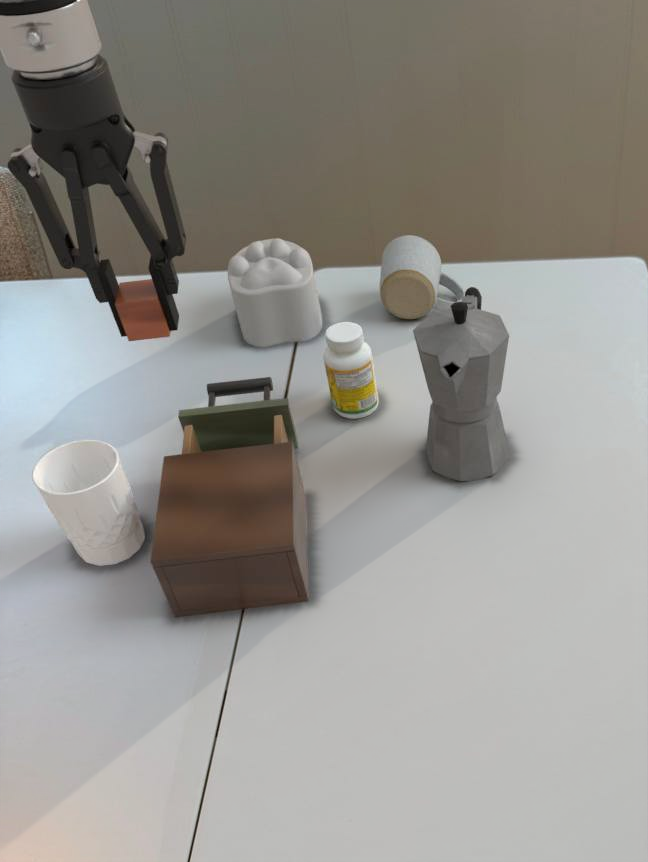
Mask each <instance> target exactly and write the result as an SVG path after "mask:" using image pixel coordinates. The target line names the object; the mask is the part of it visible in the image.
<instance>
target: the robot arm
mask: <svg viewBox="0 0 648 862" xmlns="http://www.w3.org/2000/svg"><path fill="white" fill-rule="evenodd" d="M102 48H103V44H102V41H101V39H100V36H99V32H98V29H97V26H96V23H95V20H94V17H93V14H92V11H91V8H90V4H89V2H88V0H0V53H1V55H2V58H3V60H4V63H5V65H6V66H7V67H9V68H10V69H12V70H13V71H12V76H11V83H12V85H13V87H14V90H15V93H16V95H17V97H18V100H19V102H20V104H21V108H22V110H23V113H24V115H25V118H26V120H27V122H28V125H29V127H30V130H31V136H30V137H31V138H30V143H29V144H28V145H27V146H25V147H24V148H21V147H16V148H14V149H13V151H12V153H11V155H10V157H9V160H8V162H7V169H8V170H9V172H10V173H11V174H12V176H14V178H15V179H16V180H17V181H18V182H19V183H20V184H21V186H22V187H23V188H24V189H25V191H26V194H27V196H28V198H29V200H30V203H31V205H32V207H33V209H34V211H35V213H36V215H37V217H38V219H39V222H40V224H41V226H42V228H43V230H44V233H45V235H46V237H47V239H48V242H49V244H50V246H51V248H52V250H53V252H54V254H55V257H56V260H57V262H58V263H59V265H60V266H61V267H62V269H65V270H71V269H72V268H74V269H78V270H81V271H83V272H84V273H85V275H86V277H87V279H88V282H89V285H90V287H91V289H92V291H93V294H94V297H95V299H96V301H98V303H99V304H103V303H104V304H105V303H108V305H109V308H110V310H111V311H110V312H111V313H112V316H113V318H114V321H115V325H116V326H117V329H118V331H119V334H120V337H124V338H125V337H127V335H126V333H125V330H124V327H123V325H122V322H121V319H120V317H119V314H118V311H117V309H116V306H115V301H116V298H117V293H118V288H119V282H118V279H117V277H116V274H115V272H114V269H113V265H112V264H111V261H110V259H109V258H105V259H101V260H100V254H101V251H100V250H99V246H98V240H97V234H96V228H95V221H94V216H93V210H92V203H91V202H92V201H91V196H90V191H89V188H90V187H92V186H94V185H103V186H109V187H110V189H111V190H112V193H113V194H114V195H115V196H116V198H118V199H119V201H120V203H121V204H122V206H123V208H124V210H125V212H126V213H127V215H128V217H129V219H130V221H131V223H132V224H133V226H134V228H135V229H136V231H137V233H138V235H139V237H140V238H141V240H142V242H143V244H144V245H145V247H146V249H147V251H148V252H149V254H150V257H149V264H148V268H147V269H148V272H149V274H150V277H151V278H150V279H152V280H153V283H154V286H155V289H156V292H157V295H158V298H159V301H160V304H161V307H162V310H163V313H164V315H165V318H166V321H167V324H168V327H169V330H170V331H171V332H175V331H178V329H179V323H180V314H179V311H178V307H177V304H176V300H175V298H174V295H177V294H178V293H179V285H180V280H179V276H178V274H177V271H176V267H175V264H174V261H173V258H175V257H181V256H183V255H184V254H185V253H186V252H185V251H186V244H187V235H186V230H185V227H184V224H183V220H182V219H183V218H182V216H181V212H180V209H179V204H178V201H177V197H176V193H175V189H174V185H173V182H172V178H171V174H170V170H169V166H168V162H167V161H168V160H167V159H168V149H169V138H168V136H167V135H166V134H165V133H163V132H157V133H155V134H154V135H151V134H147V133H144V132H141V131H137V130H136V129H135V126H134V125H133V123H131V121H130V120H128V118H127V117H126V115H125V113H124V110H123V109H122V108H123V107H122V105H121V103H120V102H121V101H120V99H119V95H118V93H117V89H116V86H115V83H114V79H113V77H112V74H111V70H110V68H109V64H108V61H107V60H106V58H104V57H103V56H102V55H101V54H100V52H101V50H102ZM134 148H135V149H137V150H138V151H139V153H140V157H141V159H142V161H143V162H144V163H145V164H147V165H149V172H150V178H151V182H152V185H153V186H152V187H153V189H154V193H155V196H156V200H157V205H158V207H159V211H160V215H161V219H162V223H163V226H164V230H165V233H166V237H167V238H165V235H164V234H163V231H162V230H161V228H160V226H159V225H158V223H157V221H156V219H155V217H154V216H153V213H152V211H151V210H150V208H149V206H148V204H147V202H146V201H145V199H144V197H143V195H142V193H141V192H140V189H139V188H138V186H137V184H136V182H135V180H134V176H133V173H132V171H131V170H130V168H129V165H128V163H129V160H130V158H131V155H132V152H133V149H134ZM41 160H42V161H44V163H46V164H47V165H48V166H49V167H51V168H52V169H53V170H54V171H56V172H57V173H58V174H59V175H60V176H61V177H62V178H64V181H65V186H66V187H65V188H66V193H67V198H68V199H69V201H70V202H69V203H70V208H71V212H72V218H73V223H74V230H75V235H76V241H77V247H76V244H75V242H74V240H73V238H72V235H71V234H70V231H69V229H68V226H67V224H66V222H65V220H64V217H63V215H62V212H61V210H60V208H59V206H58V203H57V201H56V199H55V197H54V194H53V192H52V190H51V187H50V185H49V183H48V180H47V178H46V177H45V175H44V173H43V169H44V168H43V167H44V165H43V163H42V161H41Z"/></svg>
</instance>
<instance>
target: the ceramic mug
mask: <svg viewBox="0 0 648 862" xmlns="http://www.w3.org/2000/svg"><path fill="white" fill-rule="evenodd" d="M439 285H440V286H443V287H444V288H447V289H448V290H449V291H451V292H452V293H453V294H454V295H455V296H456V301H448V300H446V299H443V298H441V297H440V298H439V297H438V292H439ZM465 292H466V291H465V289H464V287H463V286H462V285H461V284H460V283H459V282H458V281H456V280H455V279H454V278H453V277H451V276H449V274H445V273H443V272H442V260H441V255H440V253H439V252H438V250H437V249H436V247H435V246H434V245H433V243H431V242H430V241H428V240H427V239H424V238H423V237H421V236H417V235H410V234H407V235H401V236H398V237H396V238H394V239H392V240H391V241H390V242H389V243H388V244H387V245H386V246H385V248H384V250H383V252H382V256H381V265H380V278H379V296H380V299H381V302H382V304H383V306H384V307H385V309H386V310H387V311H388V312H389V313H390V314H392V315H393V316H395V317H397V318H400V319H403V320H416V319H420V318H422V317H424V316H426V315H427V314H428V313H430V311H431V310H432V309H436V310H438V311H442V310H448V309H451V305H452V304H453V303H455V302H461V301H462V298H463V296H465Z"/></svg>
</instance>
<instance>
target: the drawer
mask: <svg viewBox="0 0 648 862" xmlns="http://www.w3.org/2000/svg"><path fill="white" fill-rule="evenodd" d="M273 391H274V384H273V379H272V377H271V376H266V377H256V378H248V379H239V380H229V381H220V382H211V383H210V382H209V383H207V384H206V392H207V396H208V403H207V406H203V407H193V408H185V409H179V410H178V416H177V417H178V421H179V423H180V426H181V429H182V432H183V438H182V446H181V447H182V448H181V454H189V453H197V452H206V451H215V450H224V449H233V448H241V447H250V446H259V445H268V444H276V443H285V442H293V446H294V450H296V449H299V438H298V434H297V431H296V425H295V421H294V417H293V414H292V413H293V412H292V410H291V409H292V408H291V405H290V404H291V403H290V400H289V398H288V397H285V398H276V399H275V398H274V399H271V392H273ZM255 393H263V400H258V401H249V402H241V403H230V404H222V405H216V400H217V398H221V397H230V396H238V395H247V394H255Z"/></svg>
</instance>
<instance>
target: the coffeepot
mask: <svg viewBox="0 0 648 862" xmlns="http://www.w3.org/2000/svg"><path fill="white" fill-rule="evenodd" d="M464 292H465V296H463V298H462V301H461V302H457V301H454V302H455V303H453V304H452V305H451V309H448V310H442V311H440V310H438V311H433V312H431V313H430V314H429V315H428V316H427V317H425V319H423V320H422V321H421V322H420V323H419V324H418V325H416V327H414V328H413V330H412V333H413V336H414V341H415V343H416V348H417V351H418V355H419V356H418V357H419V360H420V363H421V367H422V371H423V374H424V375H423V376H424V379H425V383H426V386H427V387H426V388H427V390H428V393H429V396H430V399H431V401H432V402H431V404H430V406H429V416H428V425H427V433H426V434H427V435H426V443H425V444H426V445H425V452H426V454H427V458H428V463H429V465H430V467H431V470H432V472H434V473H436V474H438V475H440V476H442V477H444V478H446V479H450V480H453V481H459V482H473V481H479V480H483V479H486V478H488V477H491V476H494V475H496V473H498V472H499V471H500V470H501V469H502V468H503V467H504V465H505V464H506V462H507V461H508V459H509V458H510V457H511V453H510V448H509V443H508V440H507V435H506V430H505V425H504V421H503V416H502V412H501V409H500V405H499V402H498V396H499V394H501V391H502V385H503V380H504V374H505V373H504V372H505V366H506V359H507V353H508V346H509V341H510V340H509V339H510V334H509V332H508V330H507V327H506V325H505V323H504V321H503V319H502V317H501V315H499V314H496V313H493V312H489V311H487V310H483V309H482V302H483V301H482V299H483V297H482V295H481V291H480V290H479V289H478V288H477V287H475V286H469V287H468V288H467V289H466V290H465V291H464Z"/></svg>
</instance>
